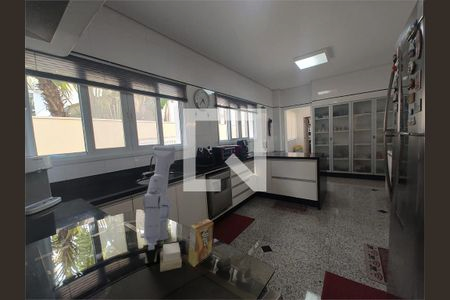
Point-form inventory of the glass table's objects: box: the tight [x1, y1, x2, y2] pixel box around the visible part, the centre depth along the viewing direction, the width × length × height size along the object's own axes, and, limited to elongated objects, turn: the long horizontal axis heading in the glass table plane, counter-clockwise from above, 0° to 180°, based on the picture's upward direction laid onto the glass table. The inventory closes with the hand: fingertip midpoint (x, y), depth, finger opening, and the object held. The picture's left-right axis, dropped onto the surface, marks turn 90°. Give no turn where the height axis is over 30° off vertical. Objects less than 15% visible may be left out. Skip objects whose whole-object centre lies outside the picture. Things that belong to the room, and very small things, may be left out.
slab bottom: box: [159, 250, 183, 272], centre depth 67 cm, size 8×8×3 cm
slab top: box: [162, 242, 181, 262], centre depth 67 cm, size 6×6×3 cm
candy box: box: [188, 218, 214, 268], centre depth 69 cm, size 9×4×15 cm, turn 137°
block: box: [144, 252, 158, 264], centre depth 68 cm, size 4×4×4 cm
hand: (151, 255), depth 68 cm, fingers open, 7 cm apart
